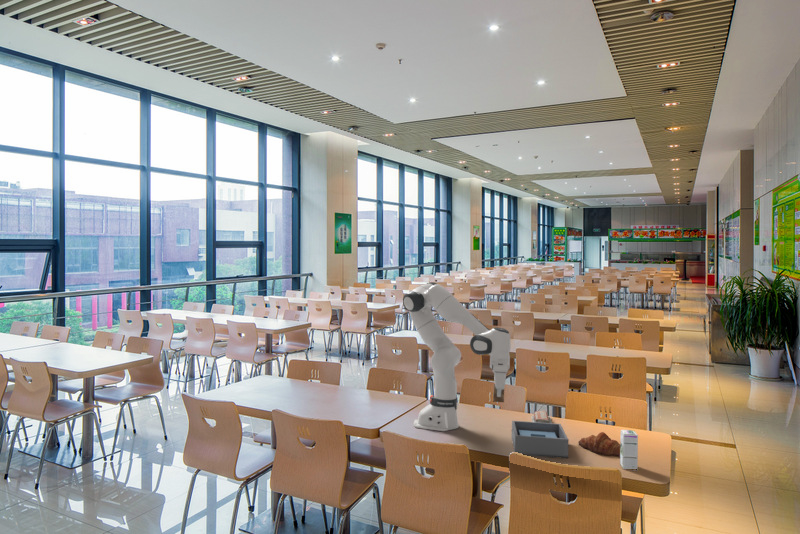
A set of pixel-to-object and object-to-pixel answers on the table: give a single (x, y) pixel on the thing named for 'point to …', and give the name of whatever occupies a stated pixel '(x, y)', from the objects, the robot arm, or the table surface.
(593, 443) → the pastry
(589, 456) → the table surface
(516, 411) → the table surface
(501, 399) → the peg
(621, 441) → the syrup box
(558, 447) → the open box
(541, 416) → the packaged product
